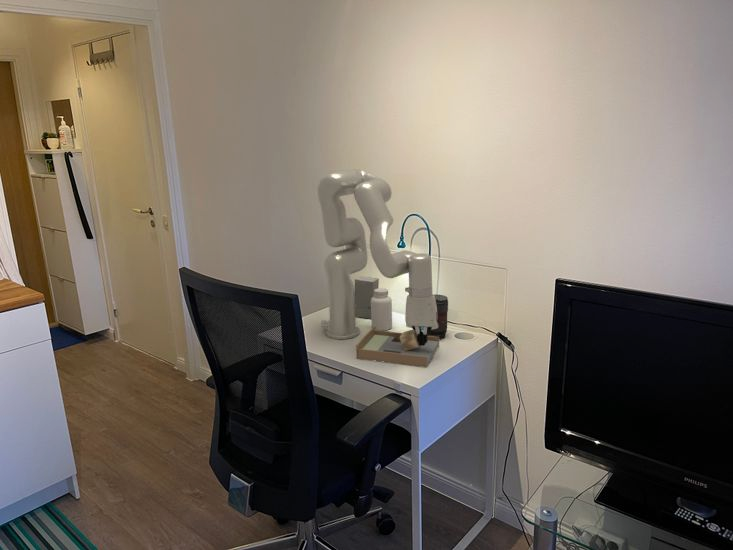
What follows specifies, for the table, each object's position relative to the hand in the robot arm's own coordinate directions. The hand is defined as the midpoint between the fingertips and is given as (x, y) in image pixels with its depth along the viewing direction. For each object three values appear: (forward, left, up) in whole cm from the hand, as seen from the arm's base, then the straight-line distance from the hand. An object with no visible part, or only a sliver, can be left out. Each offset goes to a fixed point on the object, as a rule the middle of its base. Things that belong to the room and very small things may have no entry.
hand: (422, 344), depth 188 cm
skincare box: (-32, +32, -4) cm, 45 cm away
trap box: (-9, 0, -4) cm, 9 cm away
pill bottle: (-22, +21, -4) cm, 31 cm away
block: (-3, 0, -1) cm, 4 cm away
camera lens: (0, +18, -4) cm, 19 cm away
